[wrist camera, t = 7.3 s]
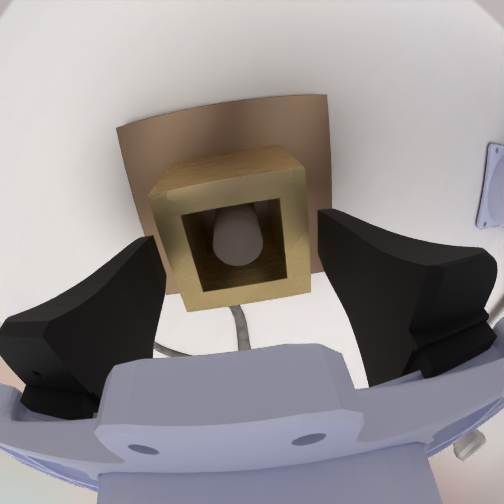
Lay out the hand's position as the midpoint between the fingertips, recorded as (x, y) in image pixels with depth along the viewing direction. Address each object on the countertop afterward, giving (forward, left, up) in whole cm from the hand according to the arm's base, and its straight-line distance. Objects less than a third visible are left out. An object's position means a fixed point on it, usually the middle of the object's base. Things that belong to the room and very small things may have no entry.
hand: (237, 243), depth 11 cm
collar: (0, 0, -4) cm, 4 cm away
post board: (0, 0, -6) cm, 6 cm away
